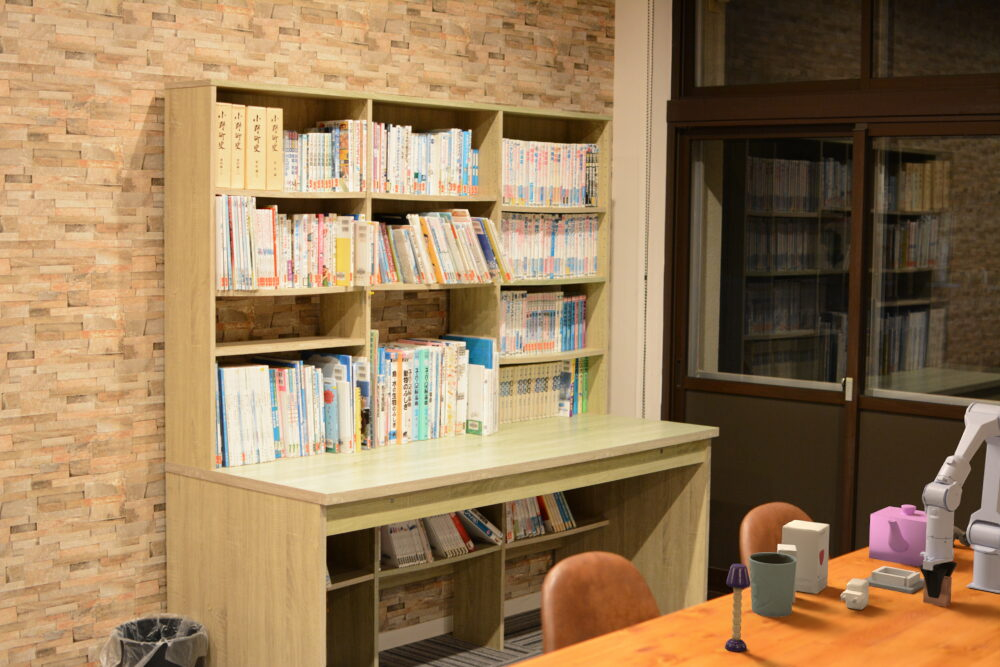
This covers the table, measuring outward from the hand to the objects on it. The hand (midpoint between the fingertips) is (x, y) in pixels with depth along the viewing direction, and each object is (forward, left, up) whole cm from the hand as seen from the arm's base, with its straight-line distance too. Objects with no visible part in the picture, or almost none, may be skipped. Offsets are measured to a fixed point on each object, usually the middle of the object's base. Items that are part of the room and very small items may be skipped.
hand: (937, 595), depth 267 cm
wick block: (0, 0, -2) cm, 2 cm away
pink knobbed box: (-34, -20, -2) cm, 40 cm away
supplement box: (+9, -28, -2) cm, 29 cm away
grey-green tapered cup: (+32, -25, -2) cm, 41 cm away
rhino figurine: (-56, -16, -2) cm, 58 cm away
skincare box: (+21, -27, -2) cm, 34 cm away
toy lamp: (+59, -19, -2) cm, 62 cm away
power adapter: (+18, -12, -2) cm, 22 cm away
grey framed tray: (-9, -13, -2) cm, 16 cm away
